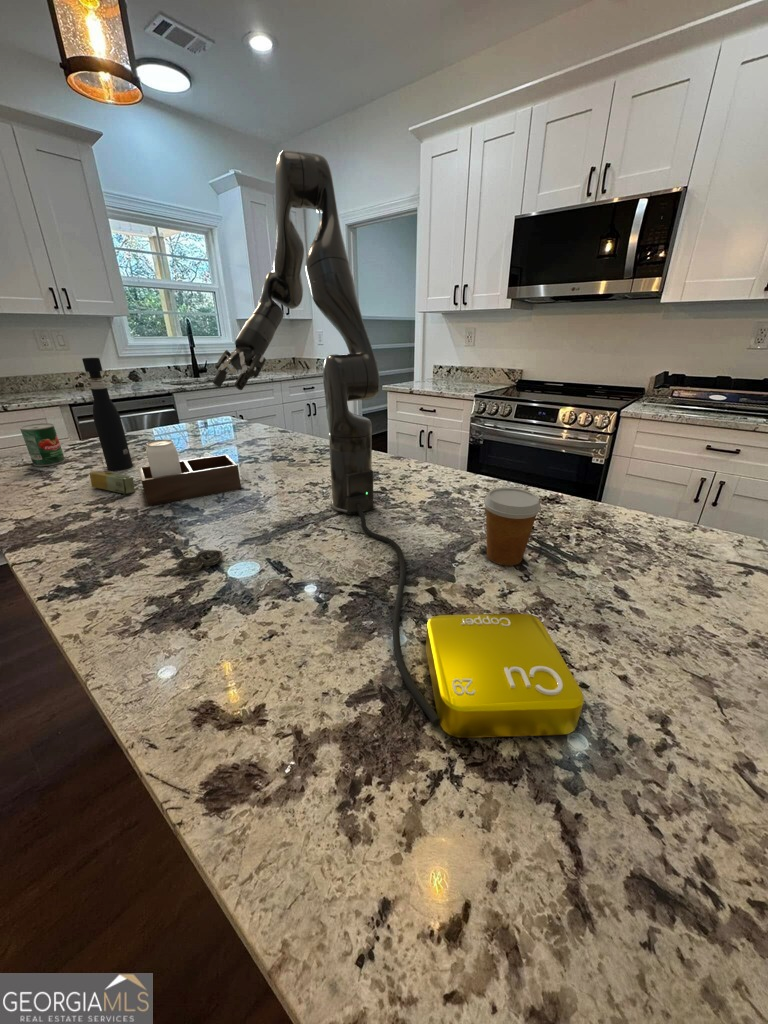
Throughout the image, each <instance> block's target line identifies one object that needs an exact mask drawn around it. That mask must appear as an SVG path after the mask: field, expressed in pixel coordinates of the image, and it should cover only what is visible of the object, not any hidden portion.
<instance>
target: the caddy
mask: <svg viewBox="0 0 768 1024" xmlns="http://www.w3.org/2000/svg"><path fill="white" fill-rule="evenodd" d="M179 463H180V467H181V472H182V473H180V474H174V475H167V476H161V477H155V478H152V473H151V469H150V465H144V466H143V465H142V466H138V467H137V470H138V474H139V477H140V481H141V485H142V490H143V493H144V497H145V502H146V504H147V507H151V506H155V505H161V504H165V503H166V504H167V503H172V502H176V501H182V500H188V499H193V498H199V497H203V496H209V495H213V494H220V493H224V492H225V493H226V492H230V491H235V490H240V489H242V485H241V478H240V477H241V476H240V473H239V472H240V471H239V465H238V464H237V463H236V462H235V461H234V459H232V457H231V456H230V455H229V454H228V453H226V454H220V455H212V456H205V457H198V458H192V459H184V460H179Z"/></svg>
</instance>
